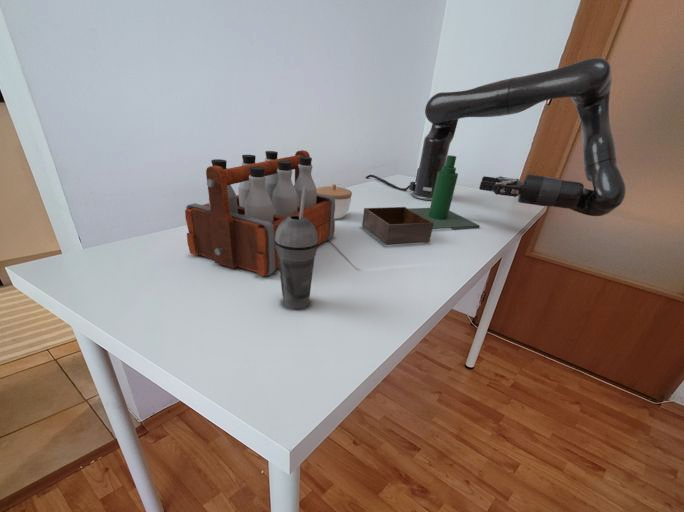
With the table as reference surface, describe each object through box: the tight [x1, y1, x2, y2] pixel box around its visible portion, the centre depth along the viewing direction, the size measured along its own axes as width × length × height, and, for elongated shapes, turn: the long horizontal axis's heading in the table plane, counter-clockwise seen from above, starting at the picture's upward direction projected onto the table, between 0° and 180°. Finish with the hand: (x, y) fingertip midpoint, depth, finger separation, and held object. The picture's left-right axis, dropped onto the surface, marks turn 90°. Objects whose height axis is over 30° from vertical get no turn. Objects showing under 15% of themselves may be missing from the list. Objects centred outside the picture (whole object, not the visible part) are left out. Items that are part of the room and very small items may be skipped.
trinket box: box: [316, 184, 353, 220], centre depth 108 cm, size 11×11×9 cm
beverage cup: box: [274, 187, 319, 310], centre depth 61 cm, size 7×7×20 cm
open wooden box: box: [361, 206, 434, 246], centre depth 100 cm, size 15×13×6 cm
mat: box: [409, 207, 480, 230], centre depth 117 cm, size 20×18×1 cm
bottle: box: [428, 154, 459, 220], centre depth 111 cm, size 6×6×18 cm
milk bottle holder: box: [184, 150, 336, 277], centre depth 83 cm, size 21×35×19 cm, turn 153°
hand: (480, 182), depth 107 cm, fingers open, 8 cm apart
